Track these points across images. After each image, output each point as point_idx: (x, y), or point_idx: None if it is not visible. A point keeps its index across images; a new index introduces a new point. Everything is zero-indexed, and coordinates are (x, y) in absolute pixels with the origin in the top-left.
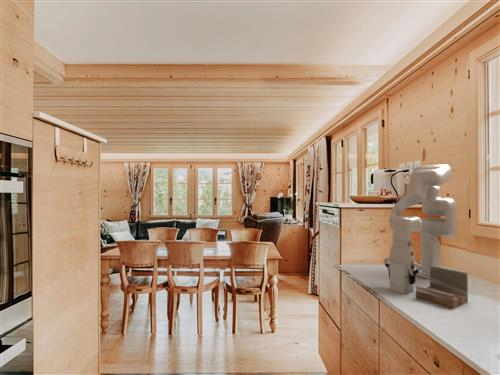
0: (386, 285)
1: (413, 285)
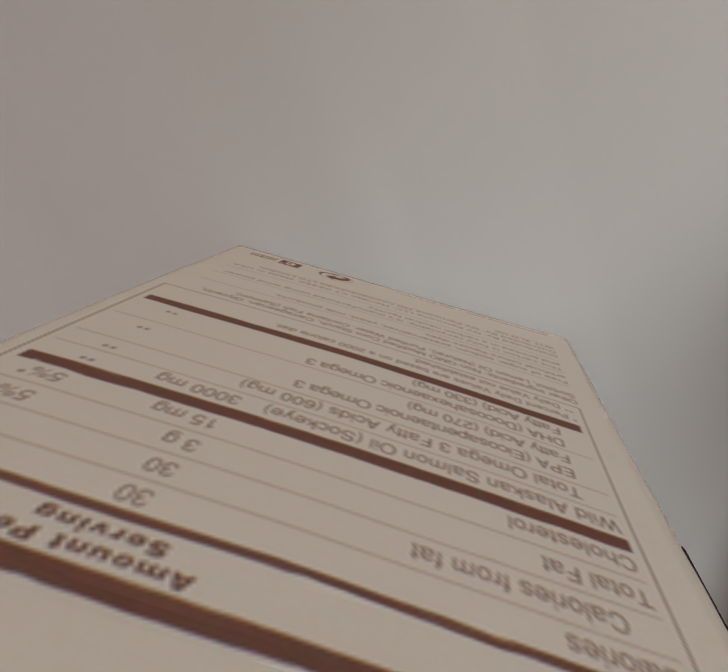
0: (19, 310)
1: (591, 388)
